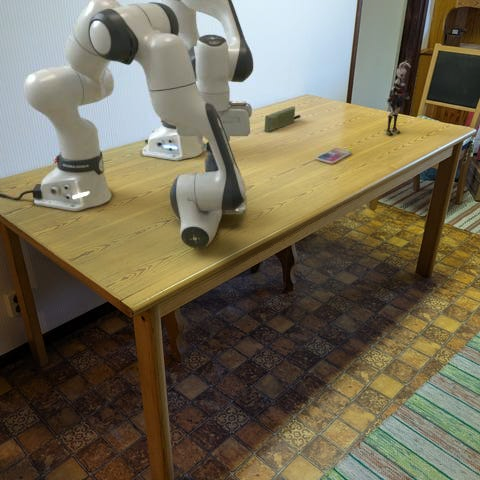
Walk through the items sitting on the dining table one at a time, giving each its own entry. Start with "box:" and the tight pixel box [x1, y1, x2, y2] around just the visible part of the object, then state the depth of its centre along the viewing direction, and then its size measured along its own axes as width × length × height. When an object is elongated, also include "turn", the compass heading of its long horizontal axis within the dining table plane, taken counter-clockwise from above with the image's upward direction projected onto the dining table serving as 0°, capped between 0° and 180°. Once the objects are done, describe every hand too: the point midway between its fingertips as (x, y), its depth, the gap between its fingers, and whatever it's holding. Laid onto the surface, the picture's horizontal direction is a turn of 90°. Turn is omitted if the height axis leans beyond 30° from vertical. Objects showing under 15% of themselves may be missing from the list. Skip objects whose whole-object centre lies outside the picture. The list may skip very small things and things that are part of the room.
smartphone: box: [315, 147, 352, 165], centre depth 188 cm, size 7×1×15 cm
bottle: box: [204, 152, 219, 172], centre depth 146 cm, size 5×5×19 cm
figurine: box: [385, 60, 412, 137], centre depth 207 cm, size 15×6×30 cm, turn 132°
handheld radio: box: [264, 105, 301, 133], centre depth 221 cm, size 7×3×25 cm
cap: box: [206, 141, 212, 153], centre depth 141 cm, size 4×4×2 cm
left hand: (214, 189), depth 149 cm, fingers closed on bottle, 5 cm apart
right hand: (213, 150), depth 142 cm, fingers closed on cap, 4 cm apart
